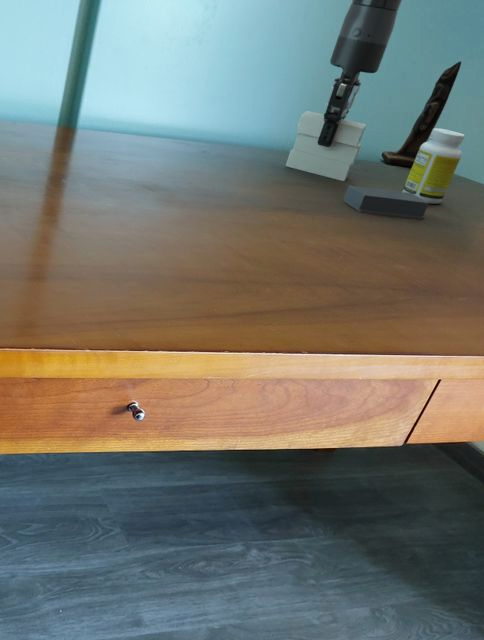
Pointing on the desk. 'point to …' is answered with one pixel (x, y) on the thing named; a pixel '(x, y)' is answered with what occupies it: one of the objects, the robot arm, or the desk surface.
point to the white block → (344, 134)
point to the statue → (425, 120)
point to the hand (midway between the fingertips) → (326, 142)
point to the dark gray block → (386, 202)
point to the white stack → (322, 157)
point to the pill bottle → (434, 166)
